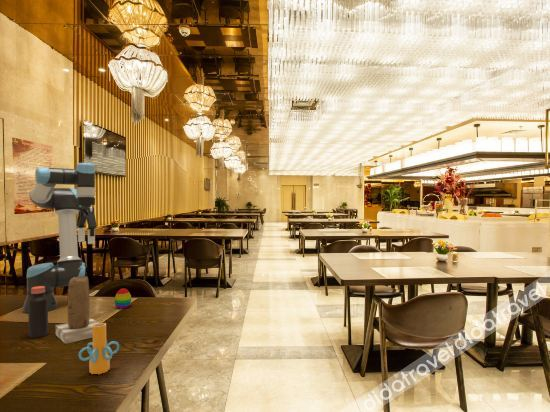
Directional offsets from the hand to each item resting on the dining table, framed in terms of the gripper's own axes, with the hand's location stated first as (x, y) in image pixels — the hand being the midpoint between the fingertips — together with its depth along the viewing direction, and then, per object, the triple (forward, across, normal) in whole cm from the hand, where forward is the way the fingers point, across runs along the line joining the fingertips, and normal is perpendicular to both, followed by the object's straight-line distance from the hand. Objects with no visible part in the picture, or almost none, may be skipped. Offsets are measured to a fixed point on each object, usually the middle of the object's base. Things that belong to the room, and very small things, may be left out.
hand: (86, 242), depth 170 cm
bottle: (+37, -4, +20) cm, 42 cm away
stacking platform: (+37, -16, +8) cm, 41 cm away
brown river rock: (+33, -16, +8) cm, 37 cm away
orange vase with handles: (+37, -57, +14) cm, 69 cm away
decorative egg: (+37, +13, -22) cm, 45 cm away
